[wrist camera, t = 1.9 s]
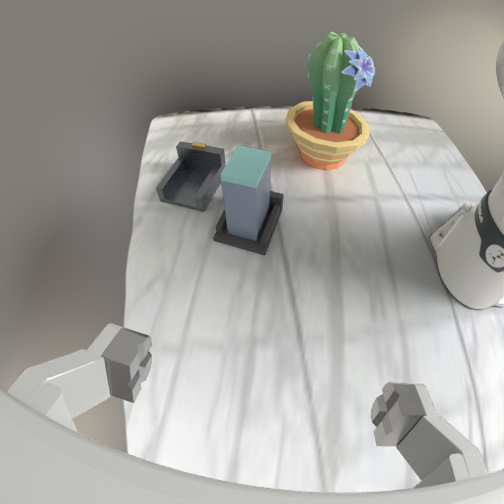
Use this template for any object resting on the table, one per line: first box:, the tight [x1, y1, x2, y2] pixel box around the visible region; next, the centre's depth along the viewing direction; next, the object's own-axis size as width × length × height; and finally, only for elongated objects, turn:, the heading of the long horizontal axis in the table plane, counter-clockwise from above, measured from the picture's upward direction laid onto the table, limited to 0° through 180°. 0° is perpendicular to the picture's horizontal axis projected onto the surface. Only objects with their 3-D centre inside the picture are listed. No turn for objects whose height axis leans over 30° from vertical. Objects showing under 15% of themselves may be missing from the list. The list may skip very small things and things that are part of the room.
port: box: [156, 142, 226, 211], centre depth 50 cm, size 10×8×6 cm
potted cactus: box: [285, 32, 375, 170], centre depth 46 cm, size 15×16×25 cm
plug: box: [220, 145, 271, 241], centre depth 42 cm, size 6×4×12 cm
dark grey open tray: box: [213, 191, 283, 255], centre depth 46 cm, size 9×8×4 cm
